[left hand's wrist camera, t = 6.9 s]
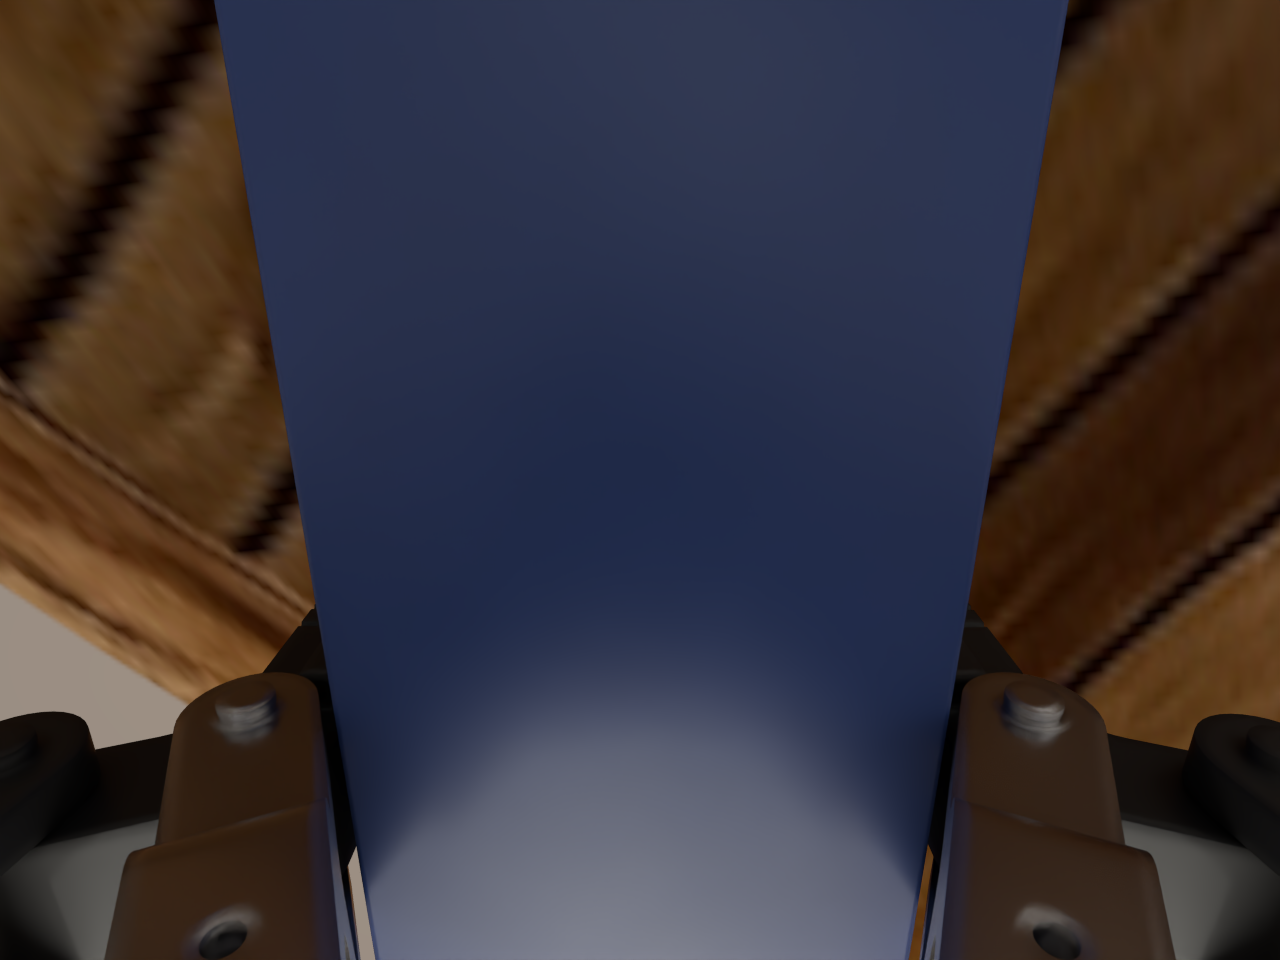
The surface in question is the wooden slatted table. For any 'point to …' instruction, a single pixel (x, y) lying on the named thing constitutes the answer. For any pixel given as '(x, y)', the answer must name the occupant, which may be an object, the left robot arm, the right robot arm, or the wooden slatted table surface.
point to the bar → (641, 442)
